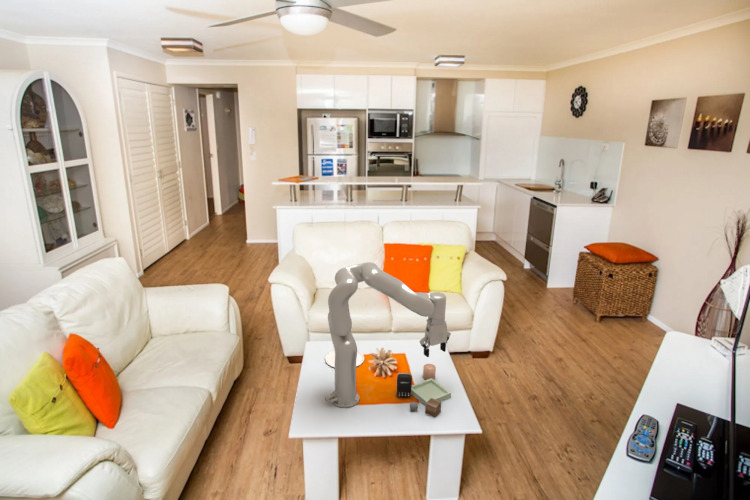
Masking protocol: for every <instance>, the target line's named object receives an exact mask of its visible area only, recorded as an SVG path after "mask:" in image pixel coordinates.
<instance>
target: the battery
mask: <svg viewBox="0 0 750 500" xmlns="http://www.w3.org/2000/svg"><path fill="white" fill-rule="evenodd" d="M412 385H413V375H412V373H409V372H399V373H397V375H396V396H397V398H401V399H403V398H407V399H409V398H411V397H412V394H411V387H412Z"/></svg>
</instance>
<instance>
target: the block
mask: <svg viewBox="0 0 750 500" xmlns="http://www.w3.org/2000/svg"><path fill="white" fill-rule="evenodd" d="M424 406H425V405H424ZM424 409H425V410H424V413H425V415H428V416H431V417H433V418H436V417H437V416H439V415H440V413H441V412H442V401H441V402H440V401H438V400H435V399H433V398H431V399H430V400H429V401H428V402H427V403H426V406H425V408H424Z"/></svg>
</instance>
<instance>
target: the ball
mask: <svg viewBox="0 0 750 500" xmlns="http://www.w3.org/2000/svg"><path fill="white" fill-rule="evenodd" d="M418 407H419V405H418V403H417V401H411V402H410V404H409V408H410V409H411V410H412V411H416V410H418Z"/></svg>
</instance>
